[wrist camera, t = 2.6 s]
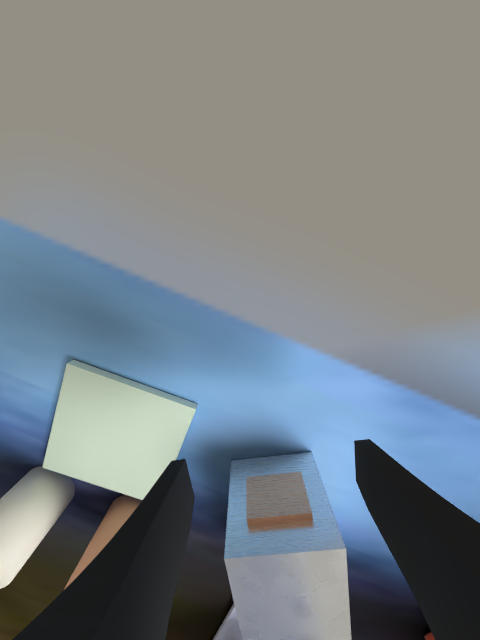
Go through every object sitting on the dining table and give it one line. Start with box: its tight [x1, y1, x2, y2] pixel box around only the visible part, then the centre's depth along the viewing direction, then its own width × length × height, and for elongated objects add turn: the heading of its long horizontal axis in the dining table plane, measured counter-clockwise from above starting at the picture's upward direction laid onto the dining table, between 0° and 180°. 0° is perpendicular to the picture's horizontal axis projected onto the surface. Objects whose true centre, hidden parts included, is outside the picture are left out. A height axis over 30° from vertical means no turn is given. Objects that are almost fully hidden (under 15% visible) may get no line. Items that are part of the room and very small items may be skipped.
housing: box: [224, 452, 351, 640], centre depth 15 cm, size 9×6×6 cm
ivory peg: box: [0, 466, 75, 589], centre depth 16 cm, size 4×4×5 cm
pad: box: [42, 360, 198, 500], centre depth 17 cm, size 9×9×1 cm
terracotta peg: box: [64, 495, 142, 590], centre depth 16 cm, size 4×4×5 cm
